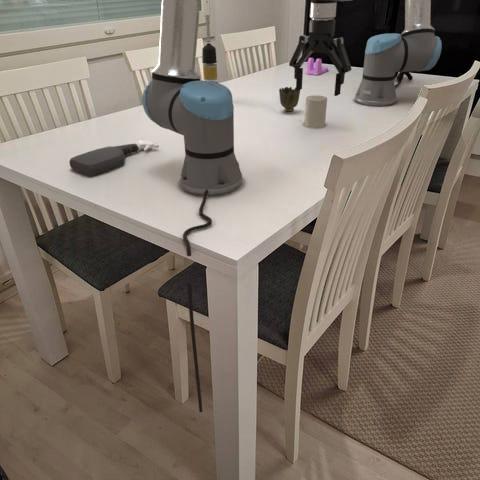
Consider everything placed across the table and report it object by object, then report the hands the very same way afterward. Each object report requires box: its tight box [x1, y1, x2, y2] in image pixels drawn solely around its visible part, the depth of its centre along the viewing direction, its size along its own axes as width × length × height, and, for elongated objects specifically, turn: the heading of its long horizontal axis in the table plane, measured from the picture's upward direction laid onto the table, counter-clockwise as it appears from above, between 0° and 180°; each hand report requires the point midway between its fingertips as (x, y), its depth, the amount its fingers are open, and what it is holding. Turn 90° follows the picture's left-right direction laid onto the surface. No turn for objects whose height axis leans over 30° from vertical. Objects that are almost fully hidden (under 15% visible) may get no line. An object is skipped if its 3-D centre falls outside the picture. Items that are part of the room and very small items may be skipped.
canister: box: [304, 94, 328, 129], centre depth 146 cm, size 7×7×9 cm
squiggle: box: [394, 71, 414, 83], centre depth 198 cm, size 11×10×15 cm
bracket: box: [306, 57, 329, 76], centre depth 216 cm, size 13×6×7 cm, turn 143°
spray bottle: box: [68, 139, 160, 177], centre depth 124 cm, size 3×11×24 cm
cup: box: [278, 86, 301, 114], centre depth 159 cm, size 8×7×8 cm
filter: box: [201, 14, 219, 83], centre depth 171 cm, size 6×6×30 cm
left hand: (317, 92), depth 143 cm, fingers open, 13 cm apart
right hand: (479, 11), depth 128 cm, fingers open, 13 cm apart
